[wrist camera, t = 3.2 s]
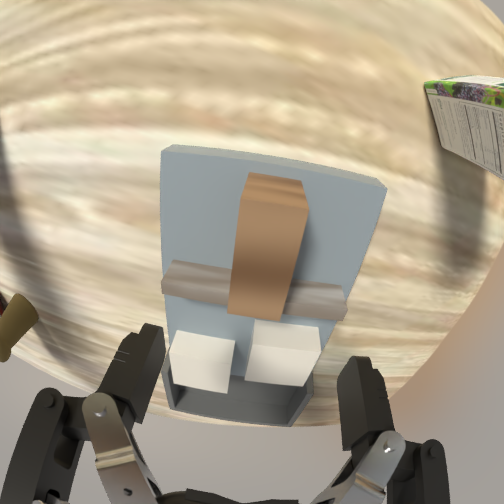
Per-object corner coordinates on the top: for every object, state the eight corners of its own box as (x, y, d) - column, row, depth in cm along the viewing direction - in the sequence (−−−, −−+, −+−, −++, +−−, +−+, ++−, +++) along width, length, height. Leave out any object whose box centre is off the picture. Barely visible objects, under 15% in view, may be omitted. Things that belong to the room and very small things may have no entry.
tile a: (255, 319, 25) (252, 344, 22) (318, 327, 25) (321, 351, 23) (247, 357, 28) (244, 380, 26) (302, 363, 28) (302, 386, 26)
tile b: (176, 329, 27) (168, 352, 24) (235, 340, 27) (231, 364, 24) (179, 362, 30) (173, 383, 27) (230, 372, 30) (227, 393, 28)
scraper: (173, 163, 18) (143, 186, 14) (372, 195, 18) (398, 227, 14) (173, 271, 23) (153, 311, 19) (336, 296, 23) (346, 340, 19)
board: (173, 144, 20) (161, 151, 18) (376, 178, 20) (387, 188, 18) (177, 347, 32) (172, 363, 30) (304, 366, 32) (305, 382, 30)
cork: (42, 316, 34) (8, 366, 24) (33, 325, 36) (3, 370, 26) (18, 288, 31) (-20, 335, 22) (11, 300, 33) (-23, 343, 24)
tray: (169, 346, 32) (160, 371, 29) (311, 367, 32) (313, 393, 29) (176, 387, 38) (169, 409, 35) (291, 404, 38) (291, 426, 35)
